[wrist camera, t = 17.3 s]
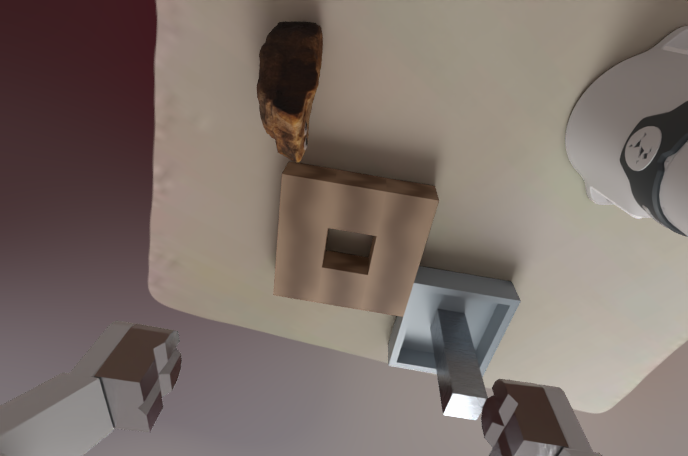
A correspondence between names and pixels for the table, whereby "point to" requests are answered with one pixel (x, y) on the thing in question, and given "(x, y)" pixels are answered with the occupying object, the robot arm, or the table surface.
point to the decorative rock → (289, 84)
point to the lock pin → (457, 366)
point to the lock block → (354, 216)
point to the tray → (455, 295)
